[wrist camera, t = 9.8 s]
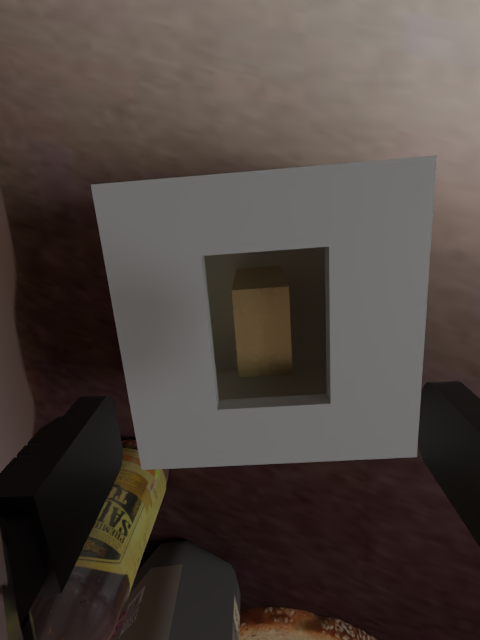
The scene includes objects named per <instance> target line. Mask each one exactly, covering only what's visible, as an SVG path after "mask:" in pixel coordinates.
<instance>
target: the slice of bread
mask: <svg viewBox="0 0 480 640" xmlns="http://www.w3.org/2000/svg"><path fill="white" fill-rule="evenodd" d="M239 640H377V639H376V638H375V637H373V636H371V635H369V634H367V633H366V632H364V631H363V630H361V629H358V628H356V627H354V626H352V625H350V624H348V623H345V622H343V621H341V620H339V619H337V618H331V617H324V616H318V615H315V614H313V613H311V612H308V611H304V610H296V609H291V608H276V607H257V608H250V609H243V610H240V626H239Z"/></svg>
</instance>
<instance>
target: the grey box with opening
mask: <svg viewBox="0 0 480 640" xmlns="http://www.w3.org/2000/svg"><path fill="white" fill-rule="evenodd" d="M435 172H436V156H426V157H414V158H402V159H390V160H378V161H366V162H355V163H343V164H331V165H319V166H307V167H295V168H283V169H271V170H260V171H248V172H236V173H224V174H212V175H200V176H188V177H176V178H165V179H153V180H141V181H129V182H117V183H105V184H93V185H91V189H92V195H93V200H94V206H95V212H96V217H97V223H98V228H99V234H100V240H101V245H102V251H103V256H104V262H105V268H106V273H107V279H108V284H109V290H110V296H111V301H112V307H113V313H114V318H115V324H116V329H117V335H118V341H119V346H120V352H121V357H122V363H123V369H124V374H125V380H126V385H127V391H128V397H129V402H130V408H131V413H132V419H133V425H134V430H135V436H136V441H137V447H138V453H139V458H140V464H141V469H142V470H151V469H172V468H194V467H215V466H236V465H257V464H278V463H300V462H321V461H342V460H363V459H384V458H406V457H417V445H418V430H419V414H420V399H421V384H422V369H423V354H424V339H425V323H426V308H427V293H428V278H429V263H430V247H431V232H432V217H433V202H434V187H435ZM268 266H280V268H281V270H282V272H283V275H284V277H285V279H286V281H287V283H288V285H289V300H290V324H291V349H292V374H291V375H273V376H256V377H239V373H238V362H237V350H236V338H235V326H234V314H233V303H232V291H231V290H232V286H233V281H234V277H235V273H236V269H241V268H254V267H268Z"/></svg>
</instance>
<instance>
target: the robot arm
mask: <svg viewBox="0 0 480 640" xmlns="http://www.w3.org/2000/svg"><path fill="white" fill-rule="evenodd" d="M418 442H419V449H420V453H421V456H422V458H423V460H424V462H425V464H426V465H427V467H428V468H429V470H430V472H431V473H432V475H433V476H434V478H435V479H436V481H437V482H438V484H439V485H440V487H441V488H442V490H443V491H444V493H445V494H446V496H447V498H448V499H449V501H450V502H451V504H452V505H453V507H454V508H455V510H456V511H457V513H458V514H459V516H460V517H461V519H462V521H463V522H464V524H465V525H466V527H467V528H468V530H469V531H470V533H471V534H472V536H473V537H474V539H475V540H476V542H477V543H478V545H479V547H480V398H479V397H478V396H476V395H475V394H474V393H473V392H472V391H471V390H470V389H468V388H467V387H466V386H465V385H464V384H463V383H461V382H459V381H448V382H428V383H426V384H425V385H424V387H423V391H422V401H421V411H420V422H419V433H418ZM122 459H123V447H122V441H121V436H120V431H119V425H118V420H117V414H116V409H115V404H114V401H113V399H112V397H111V396H89V397H80V398H78V399H77V401H76V402H75V403H74V404H73V405H72V406H71V408H70V409H69V410H68V411H67V412H66V413H65V415H64V416H63V417H58V418H56V419H55V420H53V421H52V422H50V423H49V424H47V425H45V426H44V427H42V428H41V429H40V430H39V431H38V432H37V433H36V434H35V435H34V436H33V438H32V439H31V440H30V441H29V442H28V445H27V446H24V447H23V449H22V450H21V451H20V452H19V453H18V454H17V458H14V459H13V460H12V461H11V462H10V463H9V464H8V465H7V466H6V467H5V468H4V470H3V471H2V472H1V473H0V640H37V638H36V633H35V628H34V623H33V618H32V615H31V612H30V608H31V606H32V605H33V603H34V601H35V599H36V597H37V595H38V594H61V593H62V591H63V589H64V587H65V585H66V583H67V581H68V579H69V577H70V575H71V572H72V570H73V568H74V566H75V564H76V562H77V560H78V558H79V556H80V554H81V551H82V549H83V547H84V545H85V543H86V541H87V539H88V537H89V535H90V533H91V531H92V528H93V526H94V524H95V522H96V520H97V518H98V516H99V514H100V512H101V510H102V507H103V505H104V503H105V501H106V499H107V497H108V495H109V493H110V491H111V489H112V486H113V484H114V482H115V480H116V478H117V476H118V474H119V472H120V469H121V465H122Z"/></svg>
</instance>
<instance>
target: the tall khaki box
mask: <svg viewBox="0 0 480 640" xmlns="http://www.w3.org/2000/svg"><path fill="white" fill-rule="evenodd" d="M231 291H232V303H233V314H234V326H235V338H236V350H237V362H238V373H239V377H256V376H273V375H291V374H292V349H291V324H290V300H289V285H288V283H287V281H286V279H285V277H284V275H283V272H282V270H281V268H280V266H268V267H254V268H241V269H236V273H235V277H234V281H233V286H232V290H231Z"/></svg>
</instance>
